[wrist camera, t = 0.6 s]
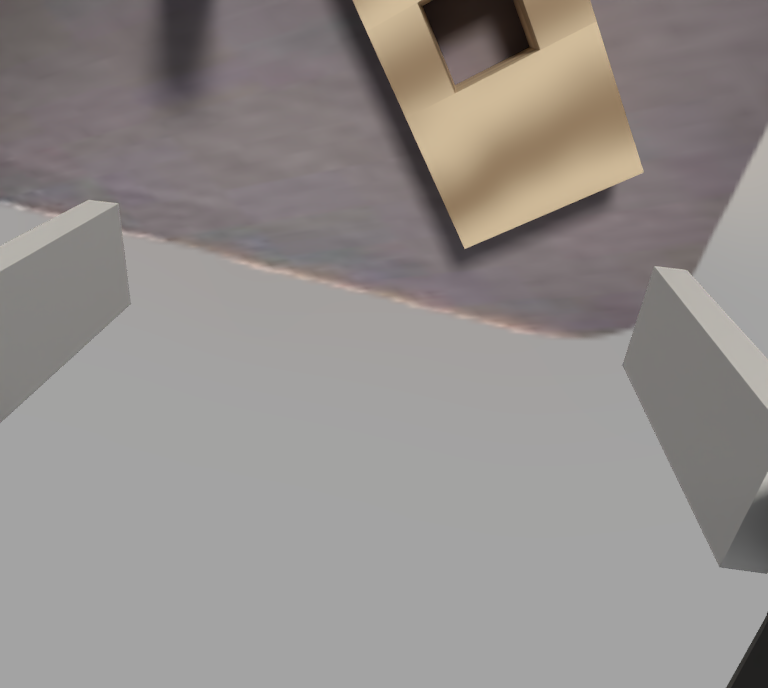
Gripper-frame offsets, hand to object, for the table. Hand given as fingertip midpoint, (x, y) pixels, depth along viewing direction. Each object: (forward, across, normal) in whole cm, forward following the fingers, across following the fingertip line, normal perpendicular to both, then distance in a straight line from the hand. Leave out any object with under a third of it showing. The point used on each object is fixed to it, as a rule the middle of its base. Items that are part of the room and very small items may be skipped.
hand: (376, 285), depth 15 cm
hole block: (+25, +2, +6) cm, 25 cm away
